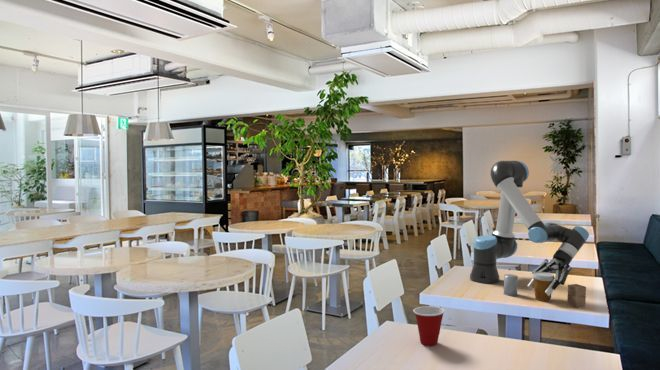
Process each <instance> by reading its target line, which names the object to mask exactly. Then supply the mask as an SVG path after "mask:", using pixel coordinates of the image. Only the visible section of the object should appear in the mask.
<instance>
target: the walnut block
mask: <svg viewBox="0 0 660 370" xmlns="http://www.w3.org/2000/svg"><path fill="white" fill-rule="evenodd" d="M586 293H587V286H585V285H581V284H578V283H573V284H572V283H571V284H568V285H567V298H566V299H567V301H566V303H567V305H568V306H569V305H570V307H572V306H573V308H575V307H576V308H575V309H579V307H581V308H586V299H587V298H586V297H587V294H586Z"/></svg>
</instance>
